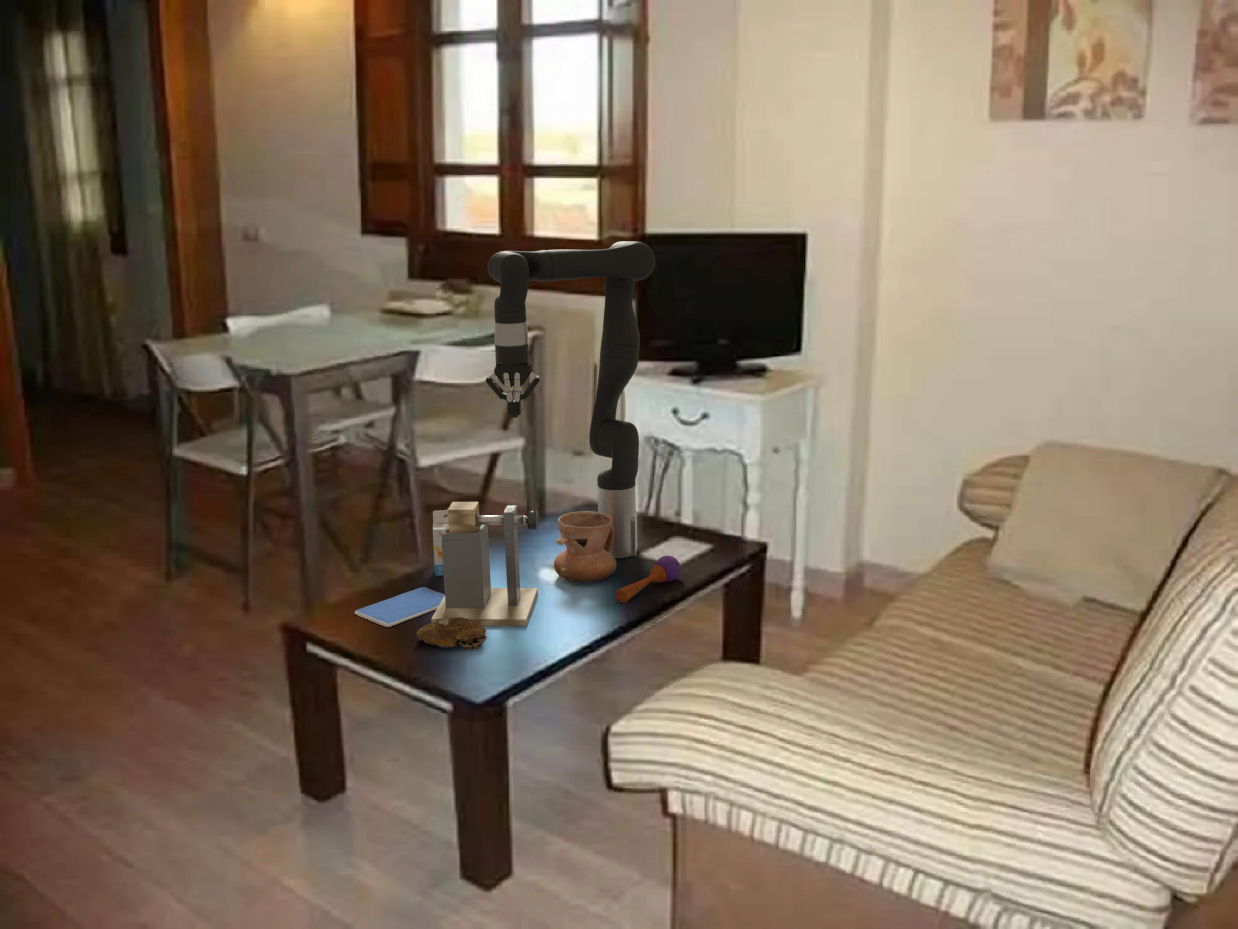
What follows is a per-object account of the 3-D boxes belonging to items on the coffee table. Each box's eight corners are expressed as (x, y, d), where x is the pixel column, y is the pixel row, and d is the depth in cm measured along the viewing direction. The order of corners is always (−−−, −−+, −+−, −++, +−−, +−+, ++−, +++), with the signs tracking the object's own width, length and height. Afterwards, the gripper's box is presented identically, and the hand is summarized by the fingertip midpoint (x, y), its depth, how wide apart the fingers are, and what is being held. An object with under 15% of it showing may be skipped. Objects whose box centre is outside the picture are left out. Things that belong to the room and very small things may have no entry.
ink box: (435, 577, 278) (431, 516, 274) (435, 569, 283) (431, 510, 279) (471, 574, 279) (468, 514, 275) (471, 567, 284) (467, 508, 280)
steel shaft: (537, 526, 255) (537, 508, 254) (535, 532, 251) (534, 514, 250) (447, 526, 257) (446, 508, 255) (443, 531, 253) (442, 513, 252)
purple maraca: (608, 583, 261) (662, 551, 276) (614, 608, 262) (667, 575, 277) (628, 584, 257) (682, 552, 272) (634, 609, 258) (688, 576, 273)
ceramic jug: (581, 594, 265) (581, 533, 262) (537, 578, 275) (536, 519, 271) (635, 574, 278) (636, 515, 274) (591, 559, 288) (591, 503, 284)
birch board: (537, 594, 266) (537, 588, 265) (526, 626, 248) (526, 619, 248) (449, 593, 267) (449, 587, 267) (431, 625, 250) (431, 618, 249)
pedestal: (491, 594, 262) (487, 521, 258) (484, 608, 254) (480, 533, 250) (453, 593, 263) (449, 521, 259) (445, 608, 255) (441, 533, 250)
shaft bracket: (520, 597, 260) (516, 505, 255) (517, 605, 255) (512, 512, 250) (511, 597, 260) (507, 505, 255) (508, 605, 256) (503, 512, 250)
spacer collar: (479, 530, 257) (478, 501, 255) (475, 538, 252) (473, 509, 250) (454, 530, 257) (452, 501, 256) (449, 538, 252) (447, 509, 250)
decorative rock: (502, 638, 244) (440, 630, 250) (501, 619, 243) (439, 611, 250) (473, 657, 234) (409, 648, 240) (472, 637, 233) (408, 628, 239)
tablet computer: (423, 590, 271) (422, 585, 271) (459, 603, 263) (459, 598, 263) (352, 616, 257) (352, 610, 257) (388, 630, 249) (388, 624, 249)
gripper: (479, 344, 264) (483, 420, 269) (538, 344, 263) (541, 420, 268) (485, 339, 271) (489, 413, 276) (542, 338, 270) (545, 413, 275)
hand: (514, 416), depth 272 cm, fingers closed
